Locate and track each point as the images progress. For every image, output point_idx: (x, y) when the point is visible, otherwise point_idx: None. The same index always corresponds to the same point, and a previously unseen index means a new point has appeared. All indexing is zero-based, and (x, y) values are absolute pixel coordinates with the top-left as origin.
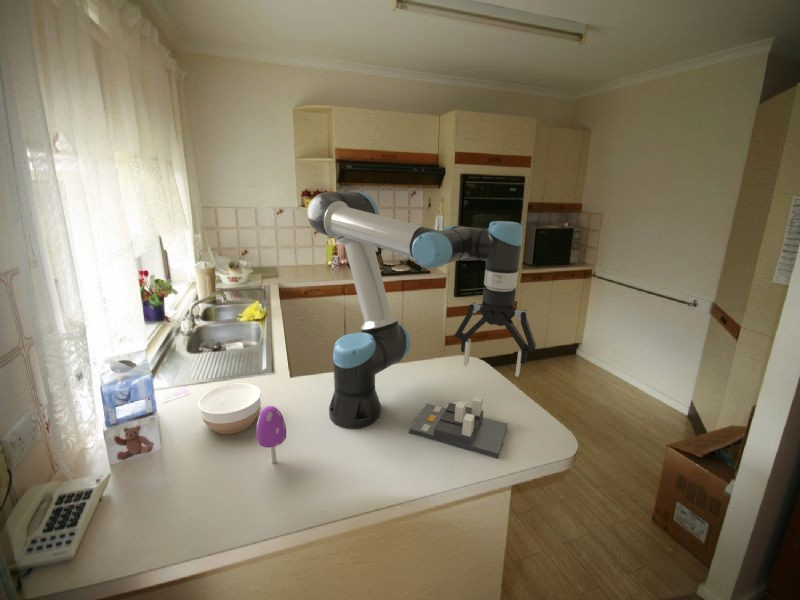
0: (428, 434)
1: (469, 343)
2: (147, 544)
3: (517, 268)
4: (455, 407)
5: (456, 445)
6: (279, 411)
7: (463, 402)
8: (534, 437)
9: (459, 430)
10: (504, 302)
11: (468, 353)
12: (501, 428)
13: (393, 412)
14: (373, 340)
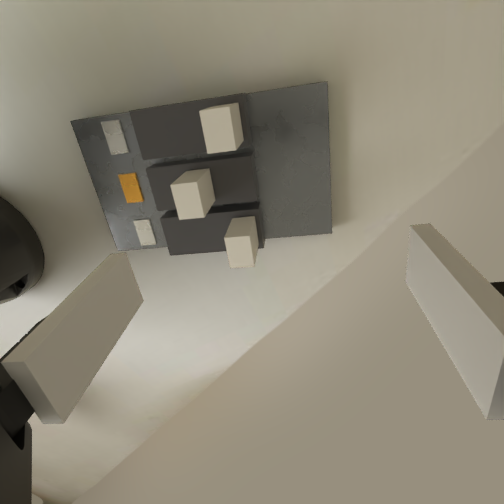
0: (164, 246)
1: (59, 374)
2: (64, 481)
3: None
4: (181, 218)
5: None
6: None
7: (188, 186)
8: (413, 82)
9: (223, 230)
10: None
11: (104, 323)
12: (314, 123)
13: (37, 192)
14: None
